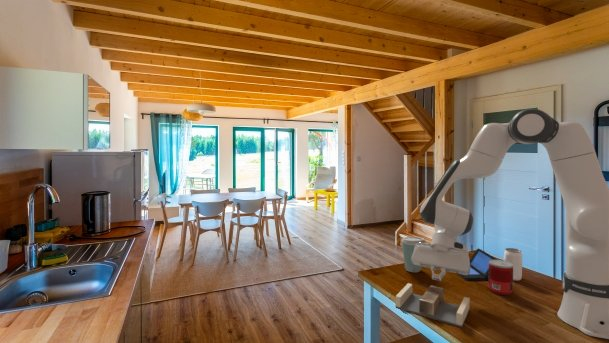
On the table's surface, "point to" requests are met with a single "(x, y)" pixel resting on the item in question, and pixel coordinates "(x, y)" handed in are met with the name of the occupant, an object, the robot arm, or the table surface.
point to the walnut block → (431, 300)
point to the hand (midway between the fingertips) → (436, 279)
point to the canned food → (500, 277)
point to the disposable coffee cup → (410, 252)
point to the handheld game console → (479, 266)
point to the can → (514, 261)
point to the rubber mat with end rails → (444, 311)
